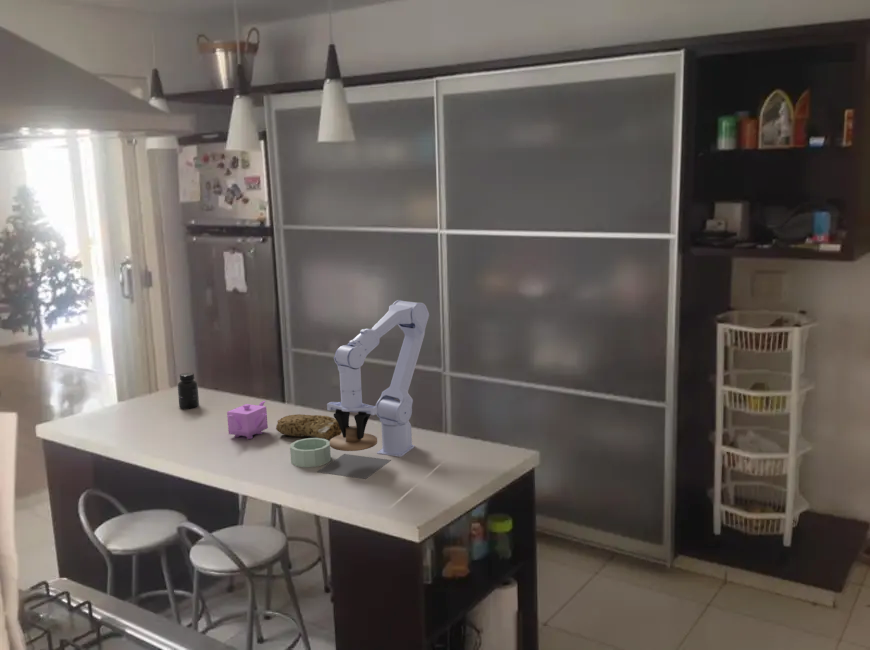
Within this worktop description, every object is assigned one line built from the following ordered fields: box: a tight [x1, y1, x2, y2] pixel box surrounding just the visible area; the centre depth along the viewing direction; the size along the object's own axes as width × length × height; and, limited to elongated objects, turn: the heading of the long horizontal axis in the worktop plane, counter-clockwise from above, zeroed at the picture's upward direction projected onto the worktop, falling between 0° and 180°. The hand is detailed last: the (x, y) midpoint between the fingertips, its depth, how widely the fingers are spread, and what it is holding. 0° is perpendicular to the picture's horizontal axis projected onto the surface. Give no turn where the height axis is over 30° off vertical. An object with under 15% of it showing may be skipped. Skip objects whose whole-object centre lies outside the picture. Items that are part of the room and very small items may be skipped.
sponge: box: [275, 413, 342, 441], centre depth 250 cm, size 13×8×20 cm
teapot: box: [226, 400, 269, 440], centre depth 252 cm, size 18×13×10 cm
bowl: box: [289, 437, 332, 468], centre depth 228 cm, size 11×11×5 cm
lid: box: [329, 425, 378, 452], centre depth 221 cm, size 13×13×4 cm
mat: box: [316, 453, 392, 480], centre depth 223 cm, size 15×15×1 cm
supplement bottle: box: [177, 372, 200, 410], centre depth 285 cm, size 7×7×12 cm
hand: (353, 437), depth 221 cm, fingers closed on lid, 4 cm apart
